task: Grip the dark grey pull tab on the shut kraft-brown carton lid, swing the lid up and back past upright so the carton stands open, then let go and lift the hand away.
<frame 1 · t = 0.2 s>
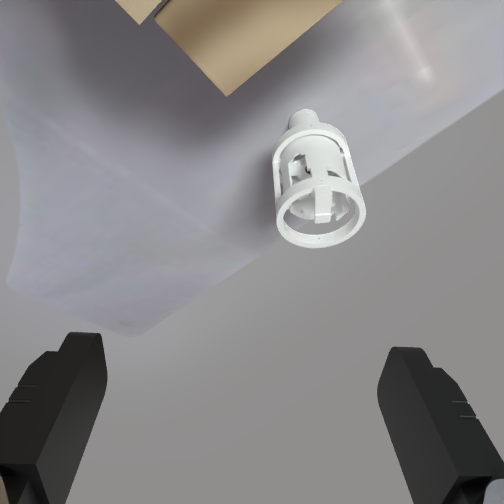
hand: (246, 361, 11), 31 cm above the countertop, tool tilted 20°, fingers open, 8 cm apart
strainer: (303, 121, 40), on the countertop
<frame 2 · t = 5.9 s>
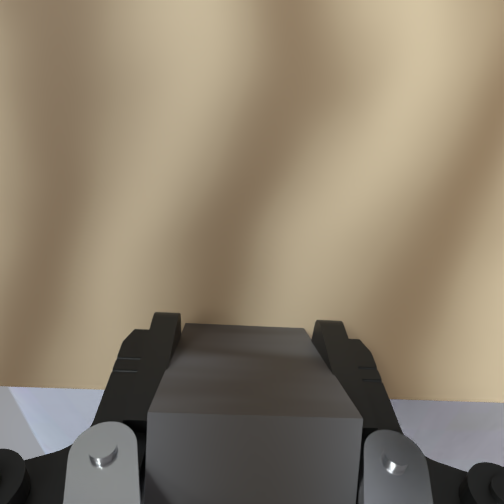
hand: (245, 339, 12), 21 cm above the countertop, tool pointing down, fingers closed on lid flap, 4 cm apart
lid flap: (264, 100, 10), point 19 cm above the countertop, hinge at 26.8°, touching gripper
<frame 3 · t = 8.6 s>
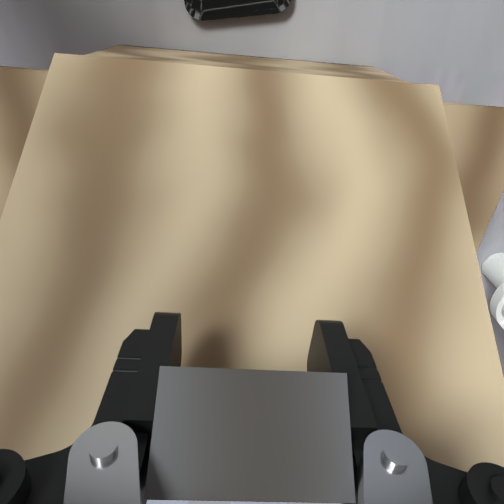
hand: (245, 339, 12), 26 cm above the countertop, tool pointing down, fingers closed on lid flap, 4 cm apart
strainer: (495, 263, 42), on the countertop
carton: (241, 165, 36), on the countertop
lid flap: (251, 190, 14), point 21 cm above the countertop, hinge at 55.4°, touching gripper
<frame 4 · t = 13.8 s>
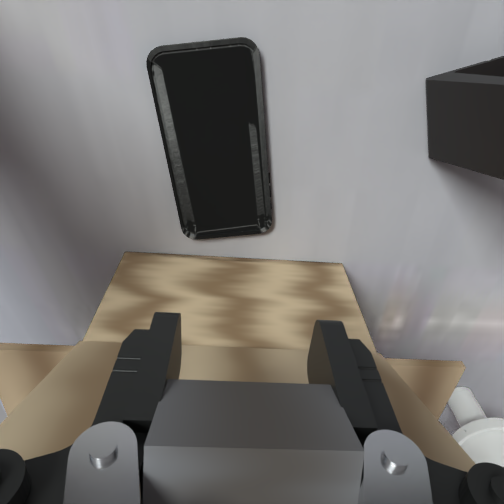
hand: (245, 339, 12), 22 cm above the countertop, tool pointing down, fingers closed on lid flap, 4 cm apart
phone stand: (485, 101, 29), on the countertop
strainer: (457, 393, 47), on the countertop
carton: (230, 329, 41), on the countertop
lid flap: (237, 375, 16), point 19 cm above the countertop, hinge at 111.9°, touching gripper
phone: (217, 147, 31), on the countertop
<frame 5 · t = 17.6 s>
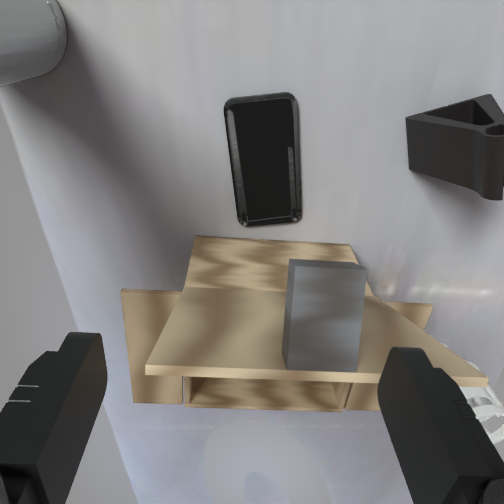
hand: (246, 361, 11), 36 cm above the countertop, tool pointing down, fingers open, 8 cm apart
phone stand: (446, 132, 44), on the countertop
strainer: (437, 349, 61), on the countertop
carton: (266, 295, 55), on the countertop
lid flap: (298, 287, 31), point 19 cm above the countertop, hinge at 112.2°
phone: (265, 162, 46), on the countertop
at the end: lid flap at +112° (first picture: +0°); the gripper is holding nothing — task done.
